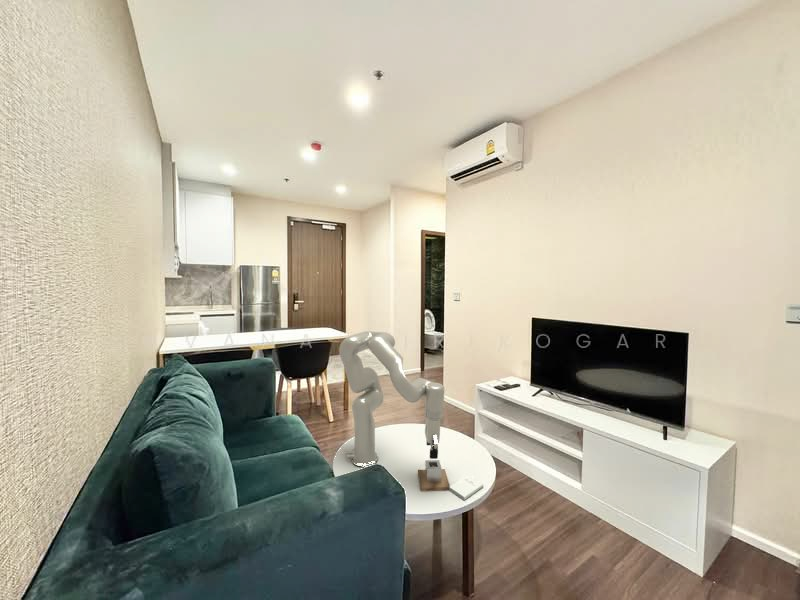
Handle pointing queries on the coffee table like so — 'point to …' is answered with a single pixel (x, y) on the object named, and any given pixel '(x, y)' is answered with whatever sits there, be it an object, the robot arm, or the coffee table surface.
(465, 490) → the external hard drive
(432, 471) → the grey hollow cube
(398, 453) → the coffee table surface
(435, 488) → the shaft block
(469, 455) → the coffee table surface
